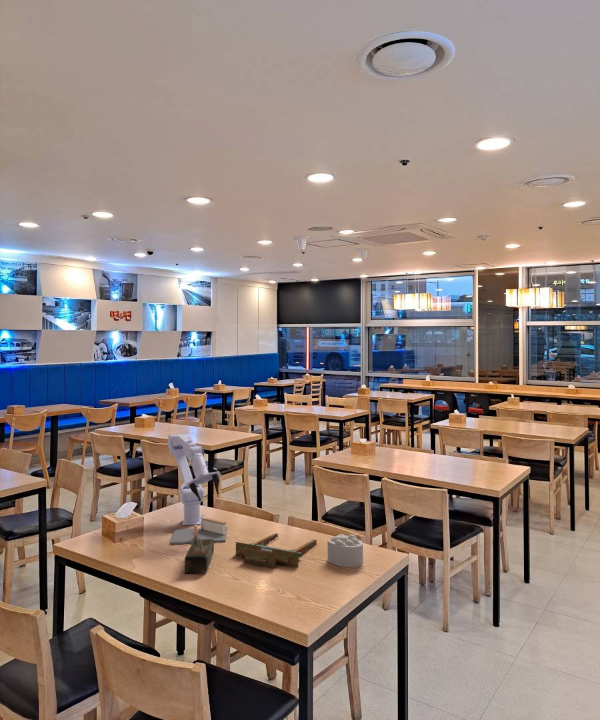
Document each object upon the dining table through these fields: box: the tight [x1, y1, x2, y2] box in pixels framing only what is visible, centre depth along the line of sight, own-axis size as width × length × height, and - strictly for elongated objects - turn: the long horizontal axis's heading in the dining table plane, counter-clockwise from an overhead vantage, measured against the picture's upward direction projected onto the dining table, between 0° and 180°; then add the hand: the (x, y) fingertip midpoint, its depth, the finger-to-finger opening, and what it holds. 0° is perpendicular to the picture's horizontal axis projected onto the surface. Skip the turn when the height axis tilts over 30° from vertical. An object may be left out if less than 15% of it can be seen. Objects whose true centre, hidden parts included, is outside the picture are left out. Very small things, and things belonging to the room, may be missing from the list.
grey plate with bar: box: [169, 514, 228, 546], centre depth 225 cm, size 16×22×7 cm
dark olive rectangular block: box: [184, 538, 215, 575], centre depth 197 cm, size 8×19×7 cm, turn 1°
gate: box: [200, 516, 227, 534], centre depth 228 cm, size 13×2×5 cm, turn 55°
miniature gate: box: [235, 532, 318, 569], centre depth 205 cm, size 27×6×30 cm
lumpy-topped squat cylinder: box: [327, 533, 364, 568], centre depth 197 cm, size 10×13×9 cm
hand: (208, 496), depth 223 cm, fingers open, 7 cm apart
